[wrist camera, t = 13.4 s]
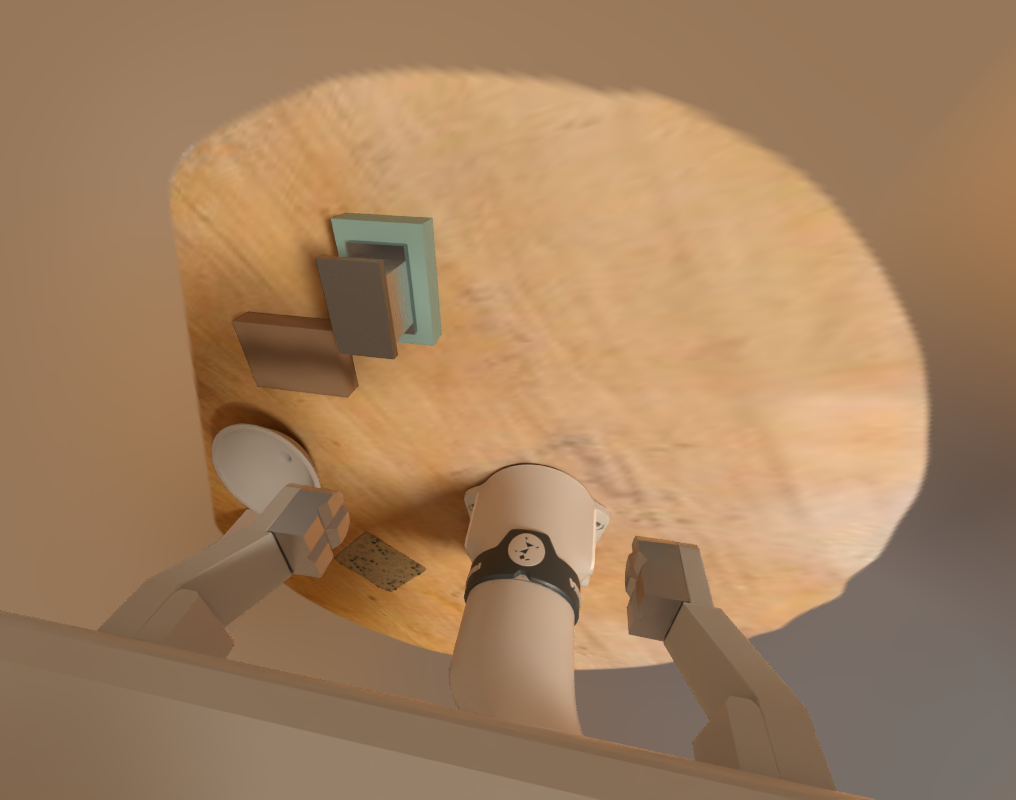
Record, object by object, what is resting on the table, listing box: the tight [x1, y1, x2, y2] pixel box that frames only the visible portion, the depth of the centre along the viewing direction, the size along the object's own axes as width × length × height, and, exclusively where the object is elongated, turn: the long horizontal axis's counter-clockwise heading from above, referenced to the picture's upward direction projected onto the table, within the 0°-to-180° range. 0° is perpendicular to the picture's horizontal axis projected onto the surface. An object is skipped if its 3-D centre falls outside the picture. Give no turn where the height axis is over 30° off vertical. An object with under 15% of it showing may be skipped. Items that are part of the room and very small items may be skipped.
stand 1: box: [232, 312, 358, 398], centre depth 44 cm, size 8×11×2 cm
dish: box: [211, 423, 321, 514], centre depth 54 cm, size 18×14×5 cm
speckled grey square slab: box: [334, 531, 426, 592], centre depth 68 cm, size 12×12×1 cm
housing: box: [316, 240, 417, 359], centre depth 35 cm, size 5×8×6 cm, turn 179°
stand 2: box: [331, 213, 442, 346], centre depth 38 cm, size 11×8×2 cm
